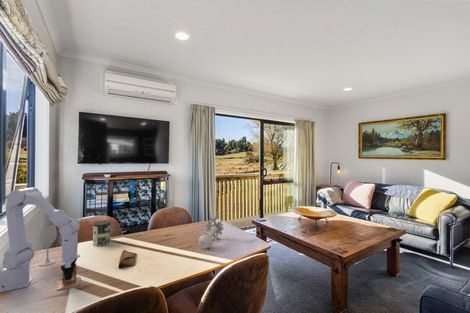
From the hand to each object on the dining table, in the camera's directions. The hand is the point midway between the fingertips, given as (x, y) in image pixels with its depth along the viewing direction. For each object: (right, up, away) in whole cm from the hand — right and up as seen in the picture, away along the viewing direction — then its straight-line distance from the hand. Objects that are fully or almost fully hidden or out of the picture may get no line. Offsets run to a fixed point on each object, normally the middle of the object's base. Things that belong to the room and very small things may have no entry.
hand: (69, 276), depth 103 cm
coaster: (0, -3, 0) cm, 3 cm away
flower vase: (+61, -5, +51) cm, 79 cm away
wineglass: (-27, -3, +20) cm, 34 cm away
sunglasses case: (+16, -4, +24) cm, 29 cm away
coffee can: (-14, -4, +49) cm, 51 cm away
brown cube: (0, -2, 0) cm, 2 cm away
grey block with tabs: (-8, -3, +8) cm, 12 cm away
